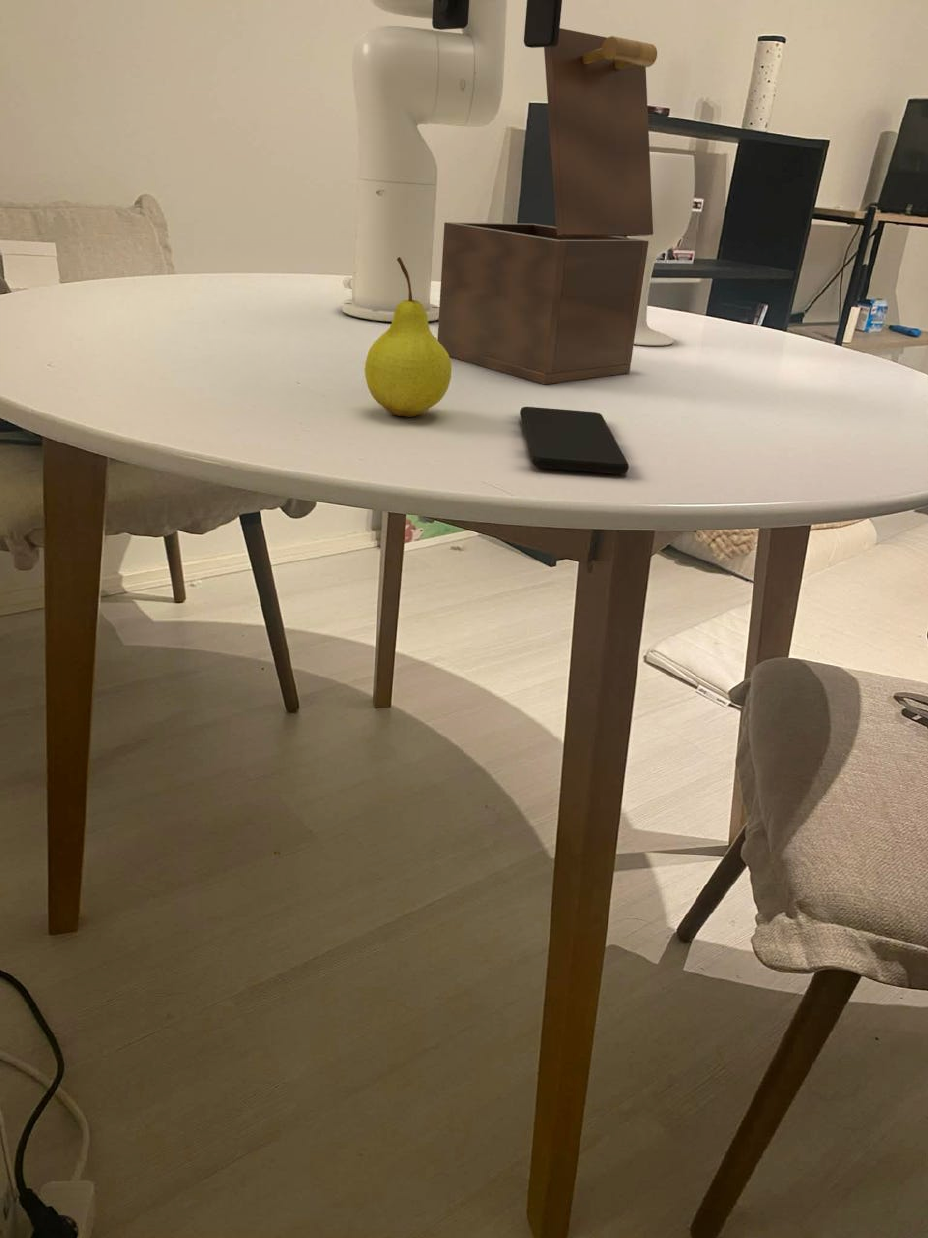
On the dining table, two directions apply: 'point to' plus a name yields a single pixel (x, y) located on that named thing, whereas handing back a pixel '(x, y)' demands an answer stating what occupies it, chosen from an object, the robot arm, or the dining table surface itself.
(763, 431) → the dining table surface
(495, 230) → the chest
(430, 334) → the fruit
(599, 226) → the lid
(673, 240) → the wineglass
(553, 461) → the smartphone
